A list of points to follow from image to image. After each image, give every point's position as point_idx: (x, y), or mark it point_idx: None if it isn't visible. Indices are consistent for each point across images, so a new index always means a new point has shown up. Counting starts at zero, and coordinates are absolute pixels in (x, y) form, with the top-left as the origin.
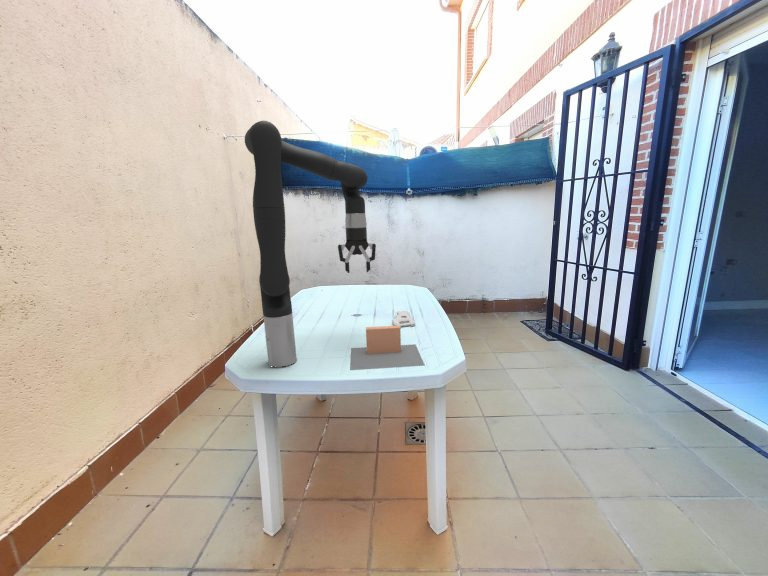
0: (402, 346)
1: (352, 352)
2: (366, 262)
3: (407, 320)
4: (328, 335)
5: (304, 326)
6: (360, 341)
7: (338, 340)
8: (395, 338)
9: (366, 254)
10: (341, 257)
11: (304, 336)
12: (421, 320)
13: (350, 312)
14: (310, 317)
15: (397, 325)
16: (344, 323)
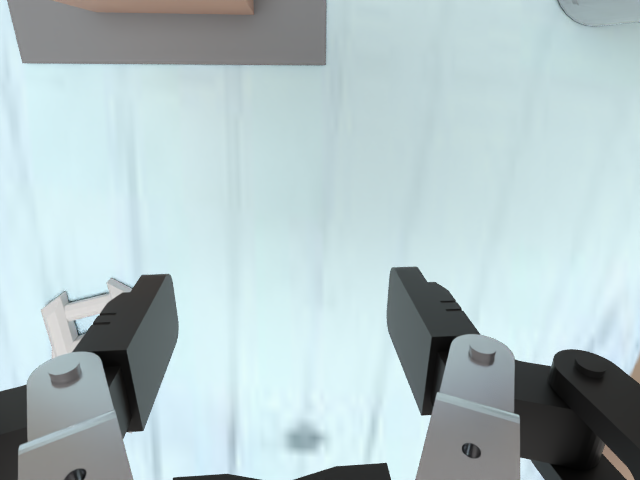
0: (86, 46)
1: (318, 8)
2: (122, 351)
3: (78, 340)
4: (418, 237)
5: (506, 342)
6: (285, 151)
7: (378, 176)
8: None
9: (26, 452)
10: (618, 400)
11: (510, 238)
12: (22, 362)
13: None
14: None
15: (122, 290)
16: (353, 358)
